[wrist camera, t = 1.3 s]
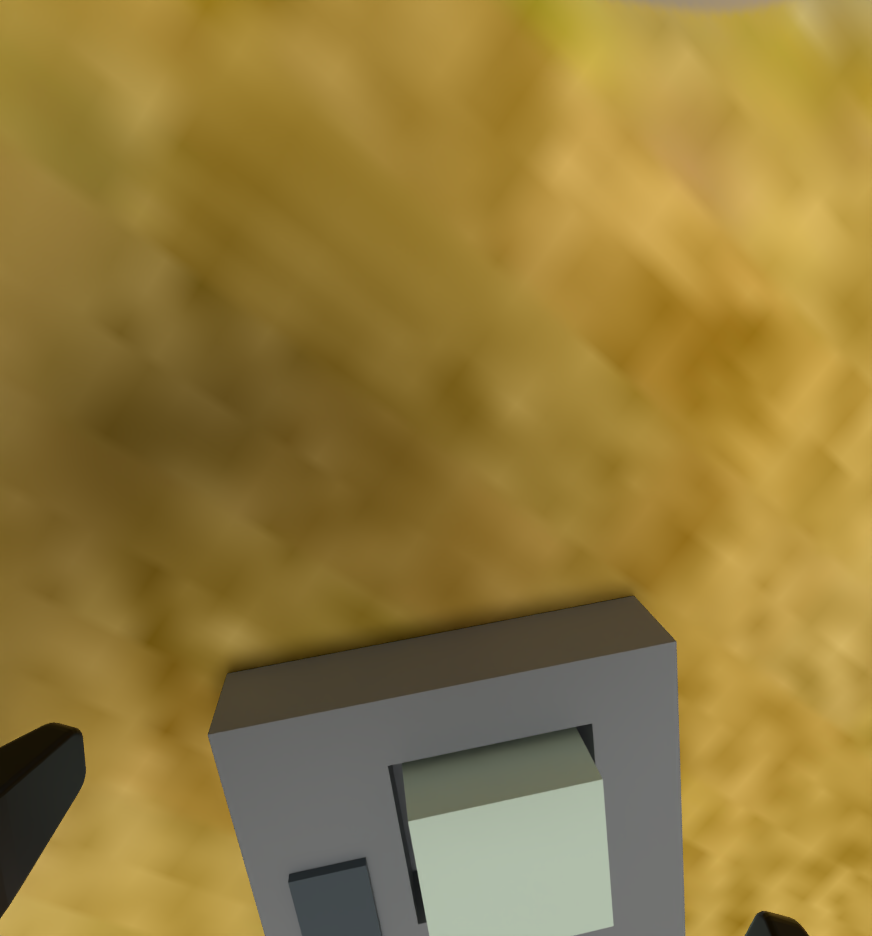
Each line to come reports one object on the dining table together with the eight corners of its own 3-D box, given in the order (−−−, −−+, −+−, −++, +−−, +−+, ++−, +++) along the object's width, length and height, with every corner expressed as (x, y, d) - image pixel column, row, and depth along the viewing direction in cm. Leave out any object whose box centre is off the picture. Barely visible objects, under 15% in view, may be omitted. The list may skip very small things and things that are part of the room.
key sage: (426, 895, 21) (435, 968, 19) (401, 760, 20) (408, 821, 18) (585, 859, 22) (613, 926, 20) (573, 723, 20) (602, 779, 18)
